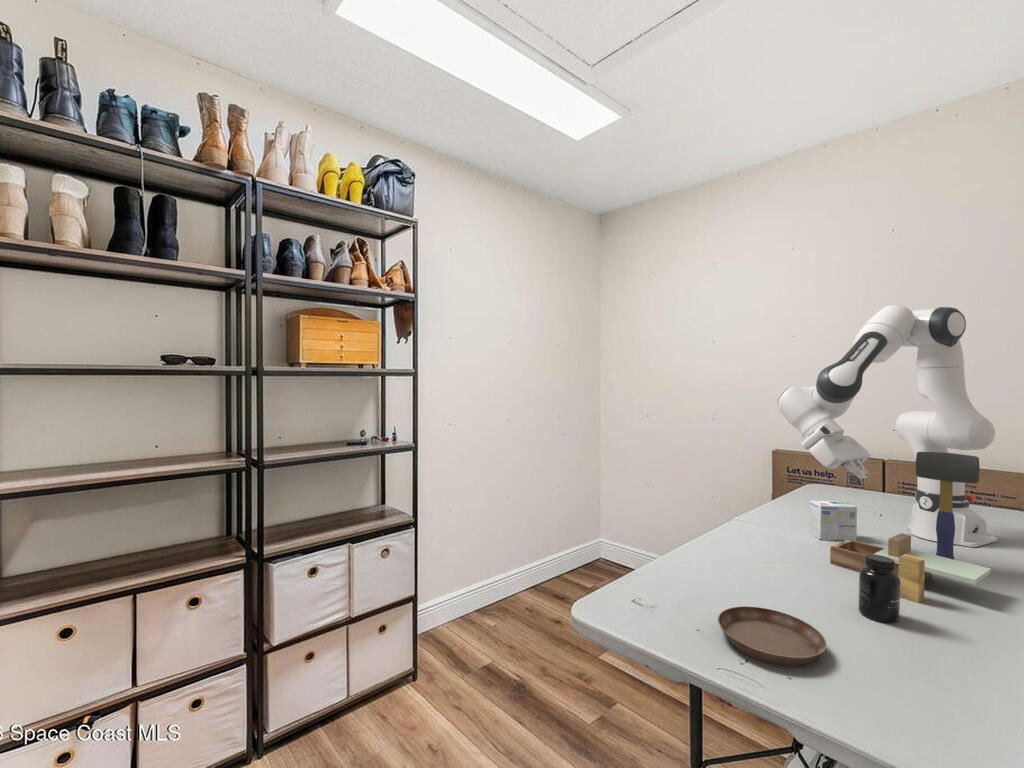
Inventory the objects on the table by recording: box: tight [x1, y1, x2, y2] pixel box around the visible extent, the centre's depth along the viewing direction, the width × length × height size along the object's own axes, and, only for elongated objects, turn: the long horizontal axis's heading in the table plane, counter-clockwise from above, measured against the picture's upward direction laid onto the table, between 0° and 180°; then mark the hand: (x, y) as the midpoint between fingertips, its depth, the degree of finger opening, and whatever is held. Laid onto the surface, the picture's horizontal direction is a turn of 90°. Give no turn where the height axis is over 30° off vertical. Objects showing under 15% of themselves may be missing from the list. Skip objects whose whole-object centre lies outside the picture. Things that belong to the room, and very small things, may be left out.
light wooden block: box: [898, 554, 925, 604], centre depth 109 cm, size 4×4×9 cm
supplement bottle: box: [858, 554, 901, 624], centre depth 101 cm, size 7×7×12 cm
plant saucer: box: [717, 605, 828, 667], centre depth 90 cm, size 18×18×3 cm
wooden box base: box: [829, 539, 933, 583], centre depth 124 cm, size 11×18×4 cm, turn 33°
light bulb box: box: [809, 500, 858, 541], centre depth 150 cm, size 11×7×11 cm, turn 84°
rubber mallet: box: [915, 452, 981, 560], centre depth 127 cm, size 12×8×30 cm, turn 47°
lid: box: [874, 532, 992, 585], centre depth 116 cm, size 12×19×5 cm, turn 33°
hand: (865, 477), depth 127 cm, fingers closed
